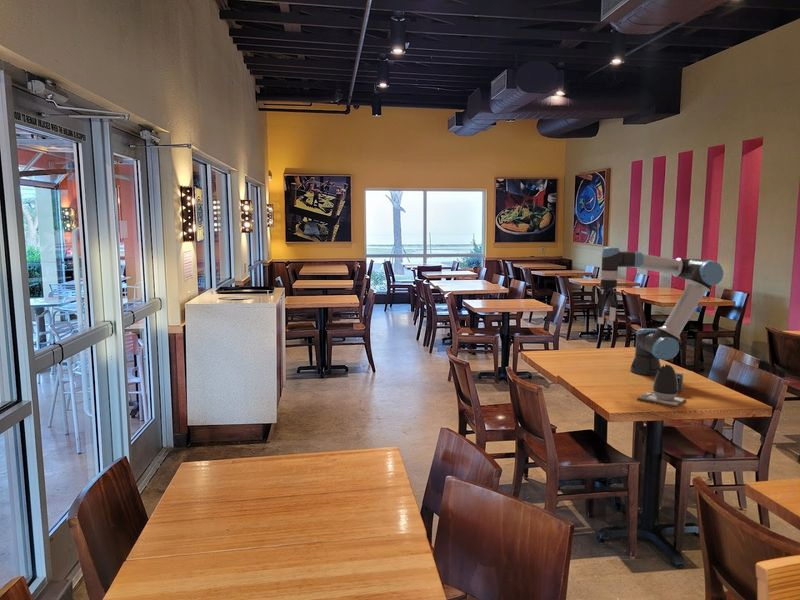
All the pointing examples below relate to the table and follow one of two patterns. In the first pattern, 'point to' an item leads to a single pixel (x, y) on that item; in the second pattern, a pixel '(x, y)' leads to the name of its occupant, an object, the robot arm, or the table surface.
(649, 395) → the chart board
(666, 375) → the dark grey egg shape
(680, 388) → the electrical switch
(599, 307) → the robot arm
